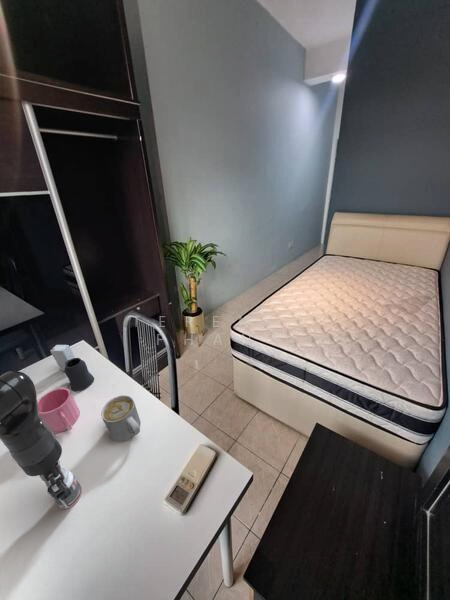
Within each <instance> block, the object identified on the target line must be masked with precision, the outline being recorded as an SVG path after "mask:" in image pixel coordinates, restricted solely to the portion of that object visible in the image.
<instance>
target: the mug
mask: <svg viewBox="0 0 450 600" xmlns="http://www.w3.org/2000/svg"><path fill="white" fill-rule="evenodd" d="M63 372H64V373H65V375H66V377H67V379H68V381H69V390H70V391H72V392H75V393H76V392H82V391H84V390H86V389H88V388H90V387H91V386H92V384H93V383H94V382H95V377H94V375H93V374H92V373H91V372H90V371H89V369H88V365H87V364H86V361H85V360H82V359H81V358H80V357H75V358H73V359H71V360H68V361H66V362H65V369H64V371H63Z"/></svg>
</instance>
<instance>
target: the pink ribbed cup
mask: <svg viewBox="0 0 450 600" xmlns="http://www.w3.org/2000/svg"><path fill="white" fill-rule="evenodd" d="M37 404H38V411H39V414H40V416H41V418H42V419H43V421H44V422H45V424H46V425H47V426H48V427H49V428H50V429H51V431H52V432H53V434H58V433H62V432H65V431H66V430H68V431H71V430H73V426H74V425H75V423H77V421H78V420H79V418H80V416H81V411H80V407H79V406H78V404H77V402H76V400H75V398H74V397H73V394H72V392H71V389H70V388H66V387H59V388H55V389H52V390H50V391H48V392H46V393H44V394H43V395H42V396H41V397H40V398H39V399H37Z"/></svg>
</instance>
